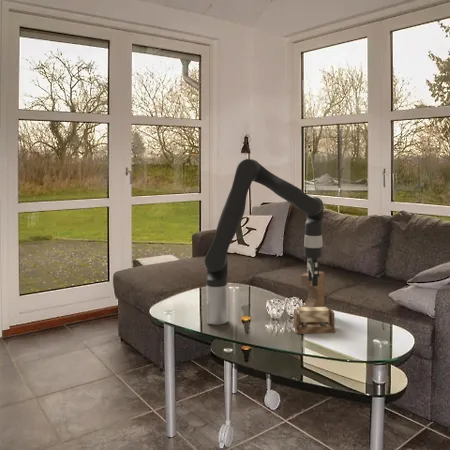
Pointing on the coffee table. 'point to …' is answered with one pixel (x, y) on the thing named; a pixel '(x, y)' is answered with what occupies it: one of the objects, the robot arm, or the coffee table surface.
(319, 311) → the plank
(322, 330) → the peg frame
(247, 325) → the coffee table surface
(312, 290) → the decorative block
